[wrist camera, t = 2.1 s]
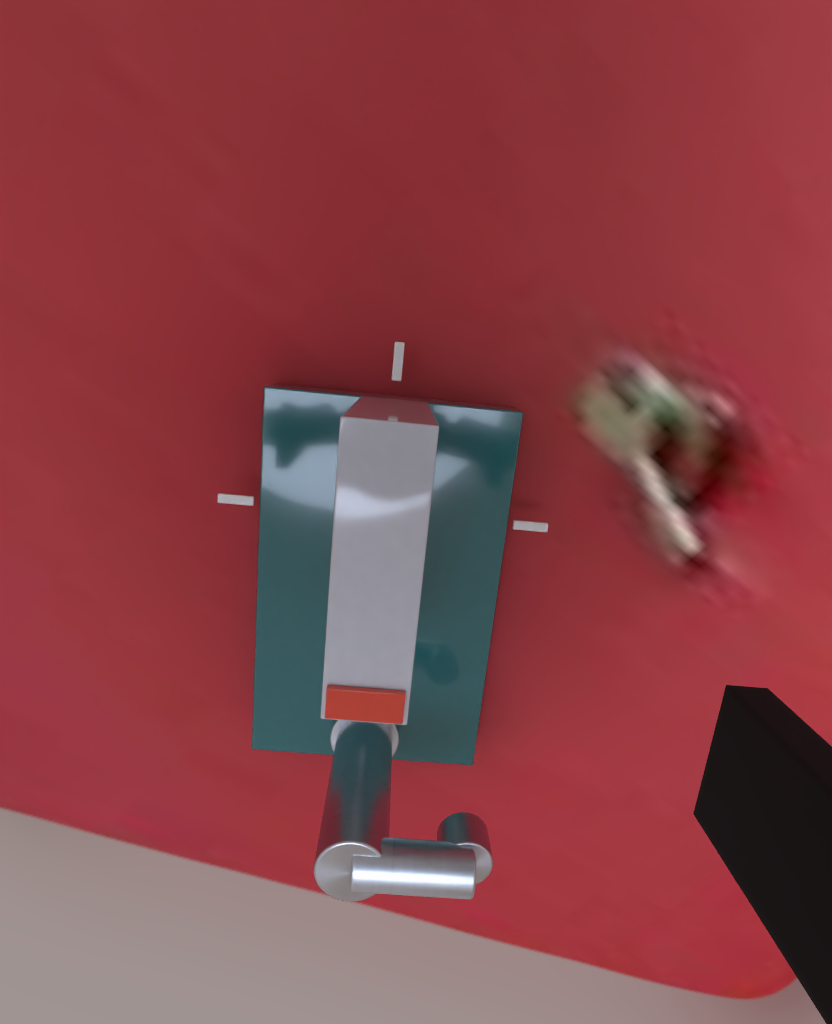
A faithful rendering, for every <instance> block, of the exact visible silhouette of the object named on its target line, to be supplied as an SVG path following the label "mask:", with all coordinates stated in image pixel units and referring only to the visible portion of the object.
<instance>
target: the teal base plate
mask: <svg viewBox="0 0 832 1024" xmlns="http://www.w3.org/2000/svg"><path fill="white" fill-rule="evenodd" d="M404 344H405V343H403V342H395V347H394V358H393V370H392V380H395V381H401V377H402V366H403V355H404ZM361 396H366V397H376V398H386V399H396V400H407V401H417V402H427V403H428V404H429V406H430V408H431V410H432V412H433V415H434V417H435V419H436V421H437V423H438V426H439V435H438V444H437V453H436V462H435V471H434V481H433V490H432V499H431V508H430V518H429V527H428V536H427V545H426V555H425V564H424V573H423V582H422V591H421V601H420V610H419V619H418V628H417V638H416V647H415V656H414V665H413V674H412V684H411V693H410V702H409V711H408V721H407V724H406V725H399V745H398V748H397V751H396V753H395V754H394V755H393V757H392V759H394V760H408V761H421V762H435V763H449V764H462V765H473V761H474V754H475V747H476V740H477V733H478V726H479V719H480V712H481V705H482V698H483V691H484V684H485V677H486V670H487V663H488V656H489V649H490V642H491V635H492V629H493V622H494V615H495V608H496V601H497V594H498V587H499V580H500V573H501V566H502V559H503V552H504V545H505V538H506V531H507V524H508V517H509V510H510V503H511V496H512V489H513V482H514V475H515V468H516V461H517V454H518V447H519V440H520V433H521V426H522V419H523V412H522V411H520V410H518V409H516V408H514V407H506V406H496V405H486V404H475V403H465V402H455V401H445V400H435V399H425V398H415V397H405V396H395V395H385V394H374V393H364V392H354V391H344V390H334V389H324V388H314V387H304V386H294V385H283V384H273V385H269V386H265V387H264V389H263V420H262V450H261V481H260V511H259V542H258V572H257V603H256V634H255V664H254V695H253V725H252V749H257V750H271V751H285V752H298V753H312V754H326V755H334V752H333V750H332V747H331V744H330V732H331V727H332V723H333V720H331V719H321V717H320V716H321V700H322V685H323V670H324V655H325V640H326V624H327V609H328V594H329V579H330V563H331V548H332V533H333V518H334V503H335V487H336V472H337V457H338V442H339V427H340V417H341V416H342V415H343V414H344V413H345V412H346V411H347V410H348V409H349V408H350V407H351V406H352V405H353V404H354V403H355V402H356V401H357V400H358V399H359V398H360V397H361ZM218 503H228V504H239V505H250V506H253V505H254V496H245V495H234V494H223V493H219V494H218ZM512 528H513V529H516V530H527V531H538V532H547V529H548V523H542V522H531V521H520V520H513V527H512Z"/></svg>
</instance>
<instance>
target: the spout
mask: <svg viewBox="0 0 832 1024" xmlns="http://www.w3.org/2000/svg"><path fill="white" fill-rule="evenodd" d="M330 744H331V747H332V750H333V752H334V755H333V761H332V767H331V772H330V778H329V784H328V789H327V795H326V801H325V806H324V812H323V817H322V823H321V829H320V834H319V840H318V846H317V851H316V857H315V863H314V876H315V879H316V882H317V884H318V886H319V887H320V888H321V889H322V890H323V891H324V892H325V893H326V894H328V895H329V896H331V897H333V898H335V899H338V900H342V901H360V900H364V899H367V898H369V897H371V896H373V895H374V894H376V893H378V894H394V895H410V896H426V897H441V898H457V899H472V898H473V895H474V892H475V886H476V884H477V883H480V882H481V881H483V880H484V879H485V878H486V877H487V876H488V875H489V873H490V872H491V869H492V865H493V860H492V854H491V848H490V842H489V836H488V831H487V827H486V825H485V823H484V822H483V821H482V820H481V819H480V818H479V817H478V816H476V815H474V814H471V813H464V812H462V813H455V814H452V815H450V816H448V817H447V818H445V819H444V820H443V821H442V823H441V824H440V826H439V828H438V831H437V841H434V840H420V839H405V838H390V837H389V826H390V796H391V765H392V757H393V755H394V754H395V753H396V751H397V748H398V745H399V725H397V724H384V723H371V722H358V721H344V720H333V723H332V727H331V732H330Z"/></svg>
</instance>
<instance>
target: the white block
mask: <svg viewBox="0 0 832 1024" xmlns="http://www.w3.org/2000/svg"><path fill="white" fill-rule="evenodd" d="M438 435H439V426H438V423H437V421H436V419H435V417H434V415H433V412H432V410H431V408H430V406H429V404H428V403H427V402H417V401H407V400H396V399H386V398H376V397H366V396H361V397H360V398H359V399H358V400H357V401H356V402H355V403H354V404H353V405H352V406H351V407H350V408H349V409H348V410H347V411H346V412H345V413H344V414H343V415H342V416H341V417H340V427H339V442H338V457H337V472H336V487H335V503H334V518H333V533H332V548H331V563H330V579H329V594H328V609H327V624H326V640H325V655H324V670H323V685H322V700H321V716H320V717H321V719H331V720H344V721H358V722H371V723H384V724H397V725H406V724H407V721H408V711H409V702H410V693H411V684H412V674H413V665H414V656H415V647H416V638H417V628H418V619H419V610H420V601H421V591H422V582H423V573H424V564H425V555H426V545H427V536H428V527H429V518H430V508H431V499H432V490H433V481H434V471H435V462H436V453H437V444H438Z"/></svg>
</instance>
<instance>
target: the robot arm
mask: <svg viewBox="0 0 832 1024" xmlns="http://www.w3.org/2000/svg"><path fill="white" fill-rule="evenodd" d="M694 815H695V817H696V819H697V820H698V822H699V823H700V825H701V826H702V828H703V830H704V831H705V833H706V834H707V836H708V838H709V839H710V841H711V842H712V844H713V845H714V847H715V849H716V850H717V852H718V853H719V855H720V856H721V858H722V860H723V861H724V863H725V864H726V866H727V867H728V869H729V871H730V872H731V874H732V875H733V877H734V879H735V880H736V882H737V883H738V885H739V886H740V888H741V890H742V891H743V893H744V894H745V896H746V897H747V899H748V901H749V902H750V904H751V905H752V907H753V908H754V910H755V912H756V913H757V915H758V916H759V918H760V920H761V921H762V923H763V924H764V926H765V927H766V929H767V931H768V932H769V934H770V935H771V937H772V938H773V940H774V942H775V943H776V945H777V946H778V948H779V949H780V951H781V953H782V954H783V956H784V957H785V959H786V961H787V962H788V964H789V965H790V967H791V968H792V970H793V972H794V973H795V975H796V976H797V978H798V979H799V981H800V982H801V984H802V986H803V987H804V989H805V990H806V992H807V993H808V995H809V997H810V998H811V1000H812V1001H813V1003H814V1005H815V1006H816V1008H817V1009H818V1011H819V1012H820V1014H821V1016H822V1017H823V1019H824V1020H825V1022H826V1024H832V747H831V746H830V745H829V744H828V743H827V742H826V741H825V740H824V739H823V738H821V737H820V736H819V735H818V734H817V733H816V732H815V731H814V730H813V729H812V728H810V727H809V726H808V725H807V724H806V723H805V722H804V721H803V720H802V719H801V718H800V717H798V716H797V715H796V714H795V713H794V712H793V711H792V710H791V709H790V708H789V707H787V706H786V705H785V704H784V703H783V702H782V701H781V700H780V699H779V698H778V697H776V696H775V695H774V694H773V693H772V692H771V691H770V690H769V689H768V688H756V687H744V686H731V685H726V688H725V692H724V696H723V700H722V704H721V708H720V712H719V716H718V720H717V723H716V727H715V731H714V735H713V739H712V743H711V747H710V751H709V755H708V759H707V763H706V767H705V771H704V775H703V779H702V782H701V786H700V790H699V794H698V798H697V802H696V806H695V810H694Z"/></svg>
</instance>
